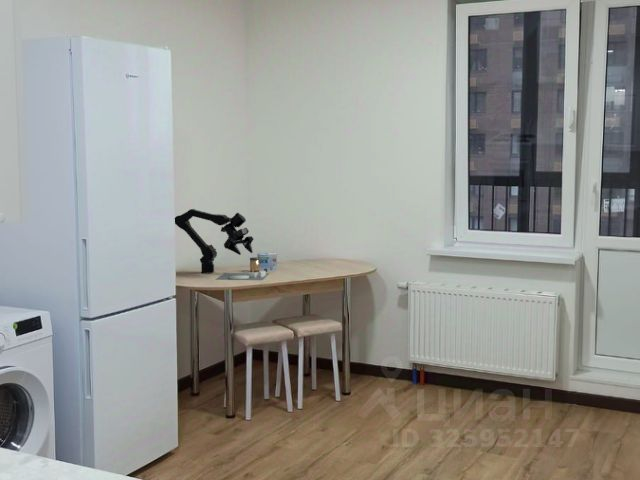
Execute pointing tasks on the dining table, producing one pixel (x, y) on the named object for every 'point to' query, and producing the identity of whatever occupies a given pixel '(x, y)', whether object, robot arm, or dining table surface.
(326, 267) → the dining table surface
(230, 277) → the sage pad
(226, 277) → the charcoal mat
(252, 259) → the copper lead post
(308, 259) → the dining table surface
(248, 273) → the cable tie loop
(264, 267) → the light bulb box
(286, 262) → the dining table surface
